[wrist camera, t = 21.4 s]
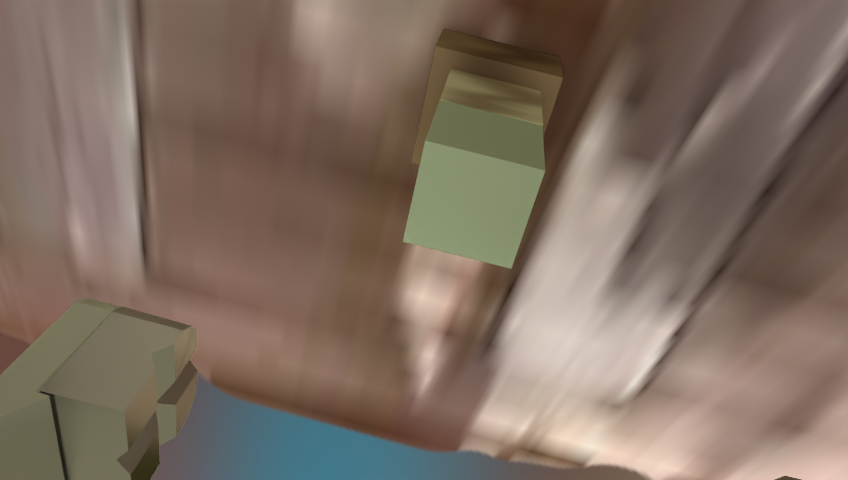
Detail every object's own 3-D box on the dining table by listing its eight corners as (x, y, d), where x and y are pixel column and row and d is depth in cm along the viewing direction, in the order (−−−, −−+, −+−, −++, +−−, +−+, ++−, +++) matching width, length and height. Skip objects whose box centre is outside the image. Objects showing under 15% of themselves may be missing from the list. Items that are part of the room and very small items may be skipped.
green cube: (542, 125, 29) (545, 170, 25) (512, 214, 32) (511, 268, 28) (439, 99, 29) (425, 140, 25) (419, 190, 32) (402, 241, 28)
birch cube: (540, 90, 33) (543, 124, 29) (514, 172, 36) (513, 213, 32) (450, 68, 33) (440, 98, 29) (431, 151, 36) (419, 190, 32)
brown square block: (559, 57, 36) (563, 77, 33) (525, 163, 40) (525, 191, 36) (443, 28, 36) (435, 46, 33) (420, 137, 40) (410, 162, 37)
